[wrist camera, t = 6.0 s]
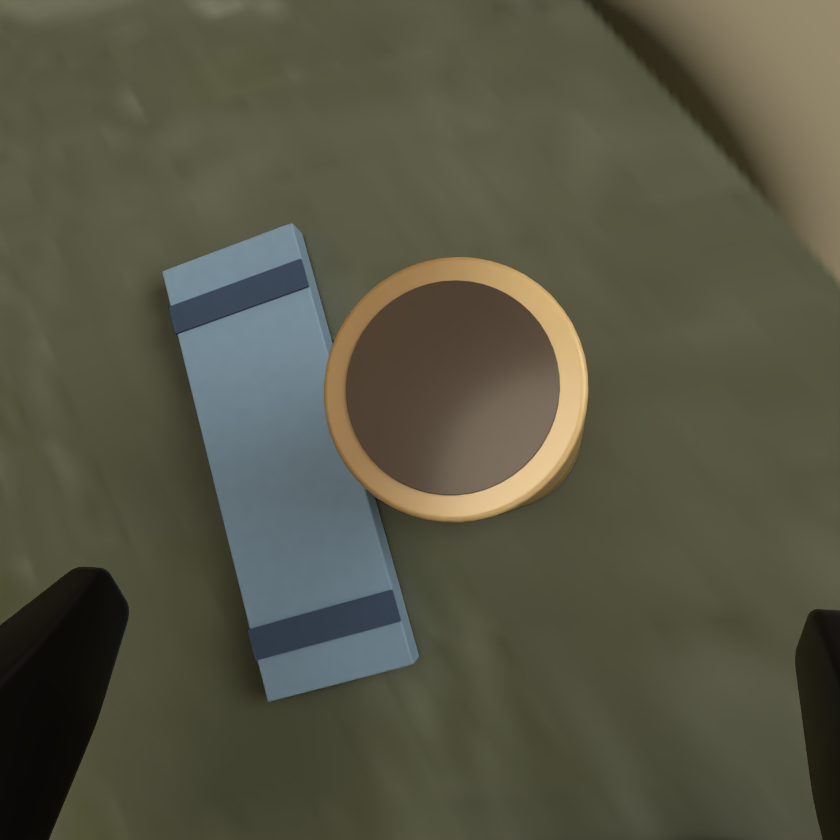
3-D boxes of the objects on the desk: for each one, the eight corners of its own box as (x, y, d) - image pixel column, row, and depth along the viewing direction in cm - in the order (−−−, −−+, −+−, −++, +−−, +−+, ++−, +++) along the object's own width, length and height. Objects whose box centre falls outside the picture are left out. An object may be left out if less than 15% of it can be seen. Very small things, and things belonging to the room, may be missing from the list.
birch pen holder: (585, 356, 19) (594, 254, 11) (578, 513, 19) (582, 533, 10) (432, 351, 20) (330, 253, 12) (423, 502, 20) (311, 512, 11)
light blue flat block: (302, 231, 21) (290, 220, 20) (420, 657, 19) (412, 665, 18) (176, 278, 22) (159, 269, 21) (278, 694, 20) (265, 704, 19)
